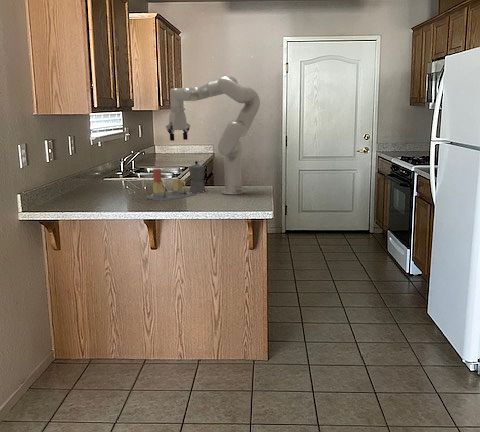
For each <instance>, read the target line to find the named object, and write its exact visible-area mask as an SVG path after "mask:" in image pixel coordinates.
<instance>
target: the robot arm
mask: <svg viewBox="0 0 480 432" xmlns="http://www.w3.org/2000/svg"><path fill="white" fill-rule="evenodd" d="M220 95H226V96H227V97H228V98H230V99H232V100H233V101H235V102H237V103H239V104H244V105H243V107H242V108H241V110H240V112H239V114H238V116H237V118H236V119H235V120H232V121H230V122H229V123H228V124H227V125H226V127H225V129H224V131H223V133H222V135H221V136H220V139H219V141H218V144H217V150H218V153H220V154H221V155H223V156H224V157H223V158H224V159H223V161H224V162H223V163H224V164H223V167H224V190H222V191H221V192H222V194H224V195H242V194H244V193H245V191H246V189H247V188H246V187H244V185H243V184H242V149H243V146H242V145H243V144H242V141H241V140H240V138H244V137H245V136H246V135H247V134H248V132H249V131H250V128H251V126H252V124H253V121H254V120H255V118H256V116H257V113H258V111H259V109H260V104H261V101H260V96H259V94H258V92H257V91H256V90H255V89H253V88H251V87H244V86H242V85H241V84H239V82H238V81H237V79H236V78H235V77H233V76H229V75H222V76H221V77H220V78H217V79H212V80H209V81H207V83H205V84H202V85H199V86H195V87H188V86H186V87H181V88H179V87H177V88H170V90H169V99H170V101H169V102H170V112H169V116H168V124H166V125H165V129H166V132H168V134H169V141H173V142H174V141H175V131H182V132H183V133H182V139H183V140H184V141H185V140H187V141H188V133H189V131H190V128H191V124H189V123H188V122H187V116H186V112H185V111H186V108H185V107H184V106H185V105H184V103H185V101H186V102H196V101H201V100H204V99H208V98H212V97H216V96H220Z"/></svg>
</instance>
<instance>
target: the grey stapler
mask: <svg viewBox="0 0 480 432" xmlns="http://www.w3.org/2000/svg"><path fill="white" fill-rule="evenodd" d="M161 182H164V183H165V192H167V191H171V190H170V189H169V186H168V185H167V183H166V181H165V179H164V178H162V177H161ZM163 192H164V185H163Z"/></svg>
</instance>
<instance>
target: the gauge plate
mask: <svg viewBox="0 0 480 432" xmlns="http://www.w3.org/2000/svg"><path fill="white" fill-rule="evenodd" d="M172 185H173V186H172V187H173V188H172V189H173V190H170V191H167V192H165V194H166V196H164V192H163V193H150V195H146V196H145V199H148V200H151V201H152V200H153V201H159V202H162V201H163V202H165V201H168V200H169V201H170V200H176V199H181V198H188V197H194V196H196V195H197V193H191V192H190V191H186V180H185V179H180V178H176V179H173V180H172Z"/></svg>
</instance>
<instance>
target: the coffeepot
mask: <svg viewBox="0 0 480 432" xmlns="http://www.w3.org/2000/svg"><path fill="white" fill-rule="evenodd" d="M194 163H195V164H193V165H189V166H188V171H189V172H188V173H189V177H190V178H191V180H190V187H189V192H192V193H196V194H198V193H197V192H202V193H204V192H203V191H205V192H206V187H205V183H204V182H205V181H204V176H205V175H204V174H205V167H206V166H205V165H202V164H199V161H194Z"/></svg>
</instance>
